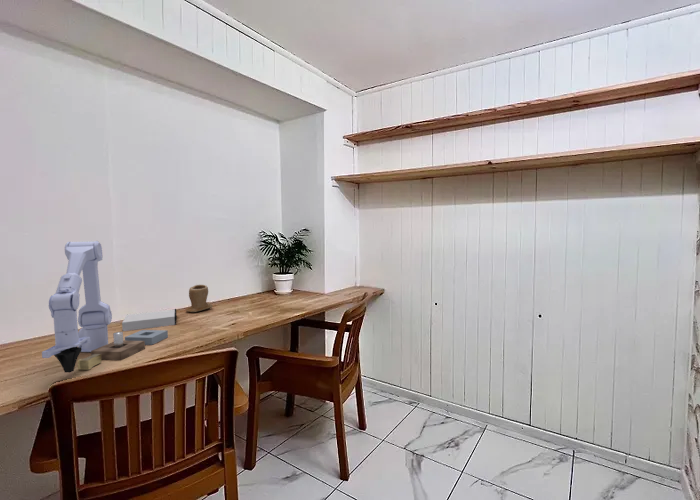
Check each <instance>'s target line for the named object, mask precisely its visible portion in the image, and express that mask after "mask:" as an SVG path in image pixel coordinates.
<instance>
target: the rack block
mask: <svg viewBox="0 0 700 500" xmlns="http://www.w3.org/2000/svg"><path fill="white" fill-rule="evenodd" d="M168 333H169V331H168V330H164V329H163V330H161V329H160V330H159V329H158V330H157V329H140V330H139V331H136V332H134V333H131V334H129V335H127V336H125V337H124V340H125V341H145V346H153V345H154V344H157V343H159V342H161V341H163V340H165V339H167V338H169V334H168Z"/></svg>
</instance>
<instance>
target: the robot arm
mask: <svg viewBox="0 0 700 500" xmlns="http://www.w3.org/2000/svg"><path fill="white" fill-rule="evenodd" d="M64 255H65V257H66V259H67V261H68V264H67V268H66V273H65V274H63V275H61V277H60V279H59V281H58V285H57V287H56V289H55V293H54V294H53V295H51V296H50V297H49V299H48V309H49V312H50V316H51V318H52V319H53V329H54V342H55V345H53V346H50V347H49V348H48V349H46V350H43V351H41V357H42V358H41V359H49V358H52V356H54V357H55V358H56V359H57V360H58V362H59V364H60V365H61V366H62V367H61V368H62V369H63V371H64V373H67V374H68V373H69V374H70V373H73V372H75V367H76V365H77V364H76V363H77V360H78V358H79V355H80V353H91V351H92V350H95V349H97V348H100V347H102V346H104V345H107V344H109V334H108V333H109V332H108V326H109V325H110V324H111V322H112V321H113V320H112V319H113V313H112V311H111V307H110V305H109V304H108V303H105V302H103V301H101V299H102V298H101V289H100V277H99V268H98V265H99V262H101V261H103V247H102V244H101V242H99V241H98V240H95V241H92V240H91V241H67V242H66V243H65V245H64ZM81 273H82V277H81ZM82 282H83V289H84V301H85V304H84V305H82V306H81V307H80V293H79V292H80V289H81V285H82ZM79 307H80V308H79ZM78 327H80V329H79V328H78Z"/></svg>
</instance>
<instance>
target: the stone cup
mask: <svg viewBox="0 0 700 500" xmlns="http://www.w3.org/2000/svg"><path fill="white" fill-rule="evenodd" d="M208 296H209V288H208V286H207V285H206V284H195V285H193V286H191V287H189V289H188V298H189V301H190V304H191V306H188V307H186V308H185V309H184V311H186V312H189V313H197V312H202V311H204V310H208V309H210V308H213V307H214V306H213V304H212V303H211V302H210V301H208Z"/></svg>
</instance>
